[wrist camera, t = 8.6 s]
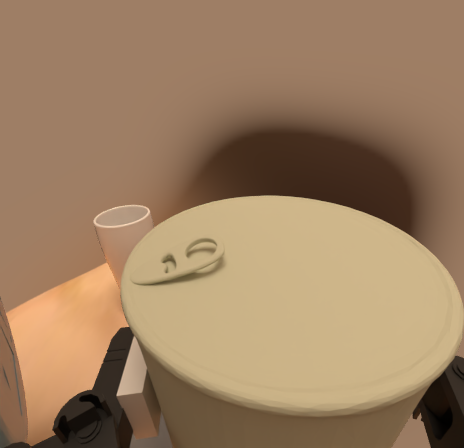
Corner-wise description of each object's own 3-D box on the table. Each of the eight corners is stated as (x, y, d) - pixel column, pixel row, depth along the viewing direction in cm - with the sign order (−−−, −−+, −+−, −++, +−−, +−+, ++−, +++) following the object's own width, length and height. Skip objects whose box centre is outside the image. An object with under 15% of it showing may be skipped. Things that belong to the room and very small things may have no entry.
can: (167, 377, 15) (121, 203, 10) (291, 332, 18) (309, 176, 13) (199, 657, 8) (65, 563, 2) (410, 504, 10) (592, 288, 5)
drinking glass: (122, 327, 33) (88, 232, 26) (122, 295, 38) (95, 209, 32) (172, 312, 35) (153, 220, 28) (165, 283, 40) (148, 201, 34)
